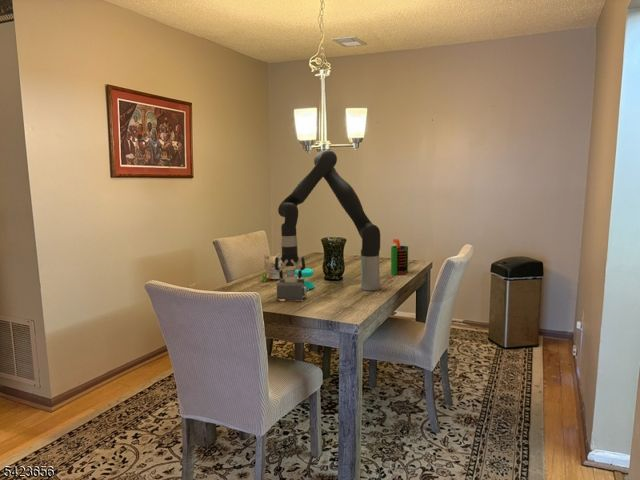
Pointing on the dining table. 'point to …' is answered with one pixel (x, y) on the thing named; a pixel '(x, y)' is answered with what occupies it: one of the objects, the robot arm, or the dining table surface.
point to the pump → (290, 276)
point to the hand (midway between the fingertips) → (290, 278)
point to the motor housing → (291, 290)
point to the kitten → (272, 267)
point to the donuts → (306, 273)
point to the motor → (399, 259)
